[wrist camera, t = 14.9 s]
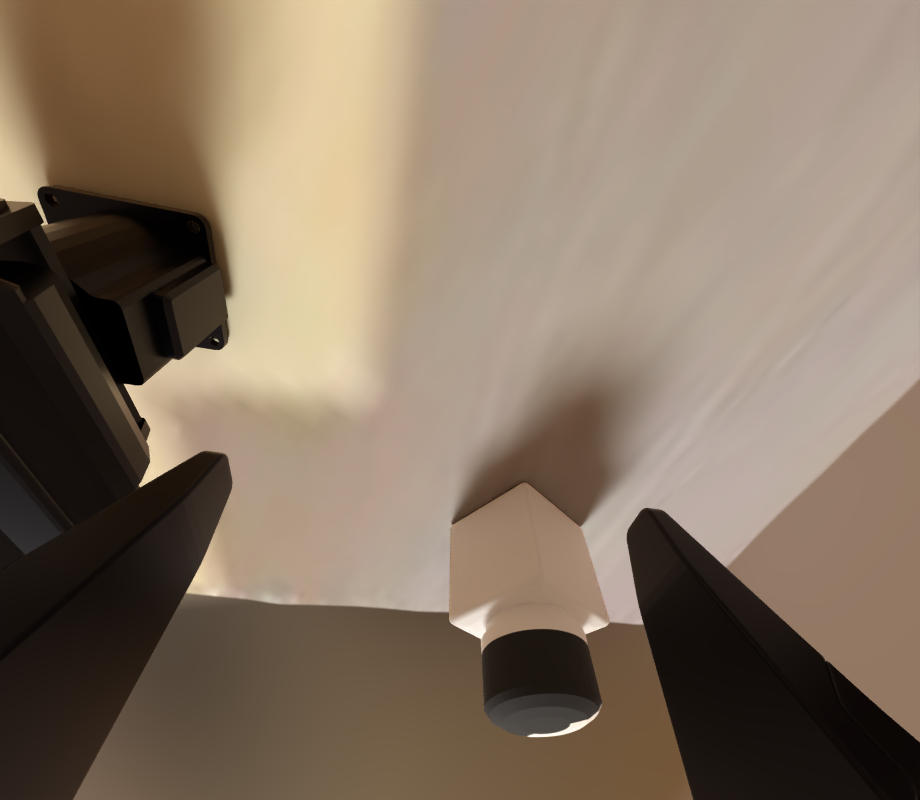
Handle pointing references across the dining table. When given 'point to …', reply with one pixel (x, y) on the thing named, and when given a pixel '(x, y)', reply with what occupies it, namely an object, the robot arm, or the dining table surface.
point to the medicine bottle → (528, 612)
